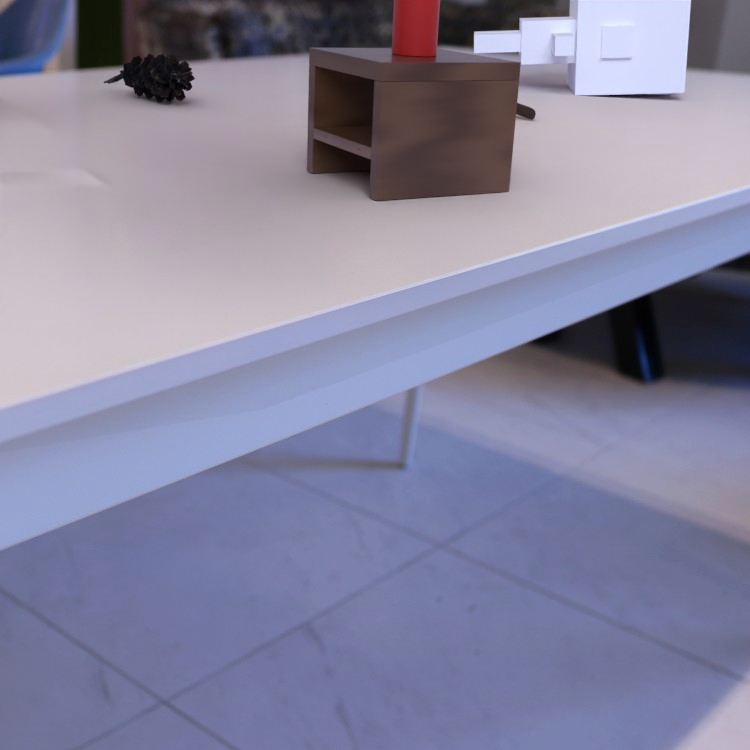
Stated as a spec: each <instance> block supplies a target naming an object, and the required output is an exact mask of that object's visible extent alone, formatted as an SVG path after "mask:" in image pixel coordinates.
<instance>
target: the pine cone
mask: <svg viewBox="0 0 750 750" xmlns="http://www.w3.org/2000/svg"><path fill="white" fill-rule="evenodd" d="M122 65H123V66H122V67H123V68H122V69H121V70H119V74H117V75H114V76H112V77H110V78H109V79H107V80H105V81H103V84H108V85H109V84H115V83H117V82H119V81H121V80H123V82H124V86H126V87H128V88H132V89H133V92H134V94H135V95H136V96H137V97H138V98H140V97H142V96H145V99H147V100H151V99H153V98H154V99H155V100H156V102H157V103H158V104H159V103H162V102H163V101H166V102H168V104H170V103H172V102H173V101H174V100H176V101H178V102H182V101H183V100H184V99H186V98H187V96H186V94H185V92H189V91H191V90H192V89H193V84H192V83H191V82H192V81H194V80H196V78H195V76H194V75H193V74H194V73H193V71H192V70H193V68H192V67H190V64H189V63H188V61H186V60H183V61H182V62H180V61H179V58H178V57H177V56H175V55H174V54H173V53H172V52H170V53H168V54H167V55H166V56H165V55H164V54H163V53H159V54H157V56H156V57H155V56H154V55H153V54H151V53H148V54H147V55H146V56H144V58H141V56H140V54H138V55H137V56H133V57H132V58H131V60H130V62H126V63H123V64H122Z"/></svg>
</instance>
